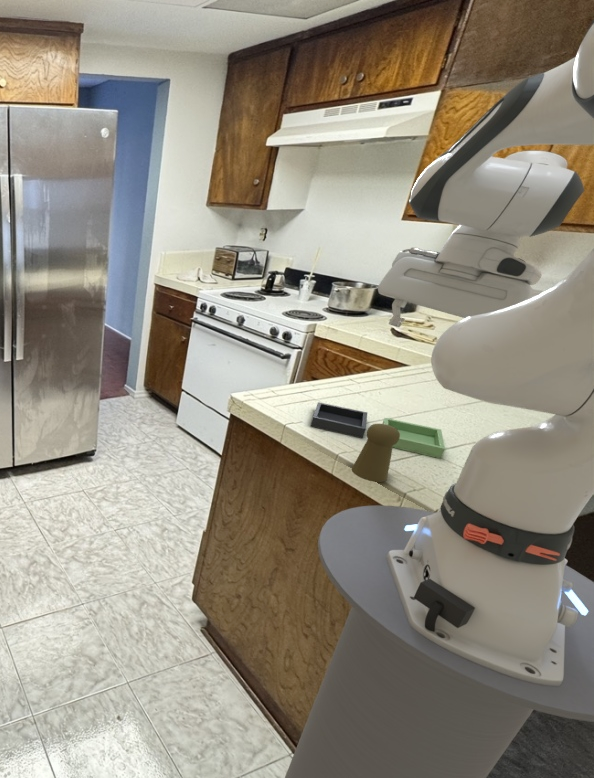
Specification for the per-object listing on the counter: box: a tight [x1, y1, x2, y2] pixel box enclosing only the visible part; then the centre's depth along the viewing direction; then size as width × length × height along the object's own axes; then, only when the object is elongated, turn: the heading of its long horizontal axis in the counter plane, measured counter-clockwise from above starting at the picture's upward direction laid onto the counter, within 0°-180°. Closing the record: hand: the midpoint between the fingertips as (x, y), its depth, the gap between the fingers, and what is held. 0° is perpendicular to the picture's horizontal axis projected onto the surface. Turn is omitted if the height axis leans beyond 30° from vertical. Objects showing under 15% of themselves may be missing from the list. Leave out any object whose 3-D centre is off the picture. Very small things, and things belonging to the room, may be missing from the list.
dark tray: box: [310, 402, 368, 439], centre depth 116 cm, size 11×11×2 cm
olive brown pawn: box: [351, 423, 400, 483], centre depth 94 cm, size 6×6×11 cm
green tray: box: [381, 417, 446, 459], centre depth 108 cm, size 11×11×2 cm
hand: (422, 335), depth 84 cm, fingers open, 8 cm apart
